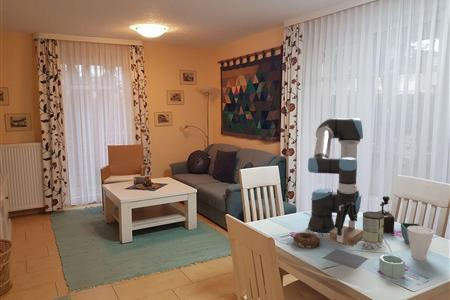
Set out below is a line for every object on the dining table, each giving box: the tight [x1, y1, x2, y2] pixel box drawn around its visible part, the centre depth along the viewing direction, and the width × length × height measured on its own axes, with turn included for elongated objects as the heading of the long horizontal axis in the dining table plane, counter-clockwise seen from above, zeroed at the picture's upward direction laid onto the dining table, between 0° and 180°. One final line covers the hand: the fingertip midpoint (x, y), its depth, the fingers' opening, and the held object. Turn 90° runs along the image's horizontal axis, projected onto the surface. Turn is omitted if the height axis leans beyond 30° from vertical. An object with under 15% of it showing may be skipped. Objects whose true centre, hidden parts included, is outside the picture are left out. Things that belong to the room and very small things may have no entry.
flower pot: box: [400, 222, 421, 245], centre depth 175 cm, size 9×9×9 cm
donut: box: [292, 232, 321, 249], centre depth 175 cm, size 14×14×5 cm
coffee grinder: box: [377, 195, 395, 235], centre depth 196 cm, size 16×11×18 cm
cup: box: [407, 225, 434, 261], centre depth 158 cm, size 10×10×14 cm
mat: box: [322, 248, 369, 270], centre depth 157 cm, size 16×14×1 cm
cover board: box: [328, 225, 363, 247], centre depth 157 cm, size 11×11×4 cm
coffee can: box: [361, 211, 384, 245], centre depth 179 cm, size 10×10×14 cm
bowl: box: [378, 254, 406, 279], centre depth 144 cm, size 9×9×6 cm
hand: (345, 237), depth 157 cm, fingers closed on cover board, 11 cm apart
